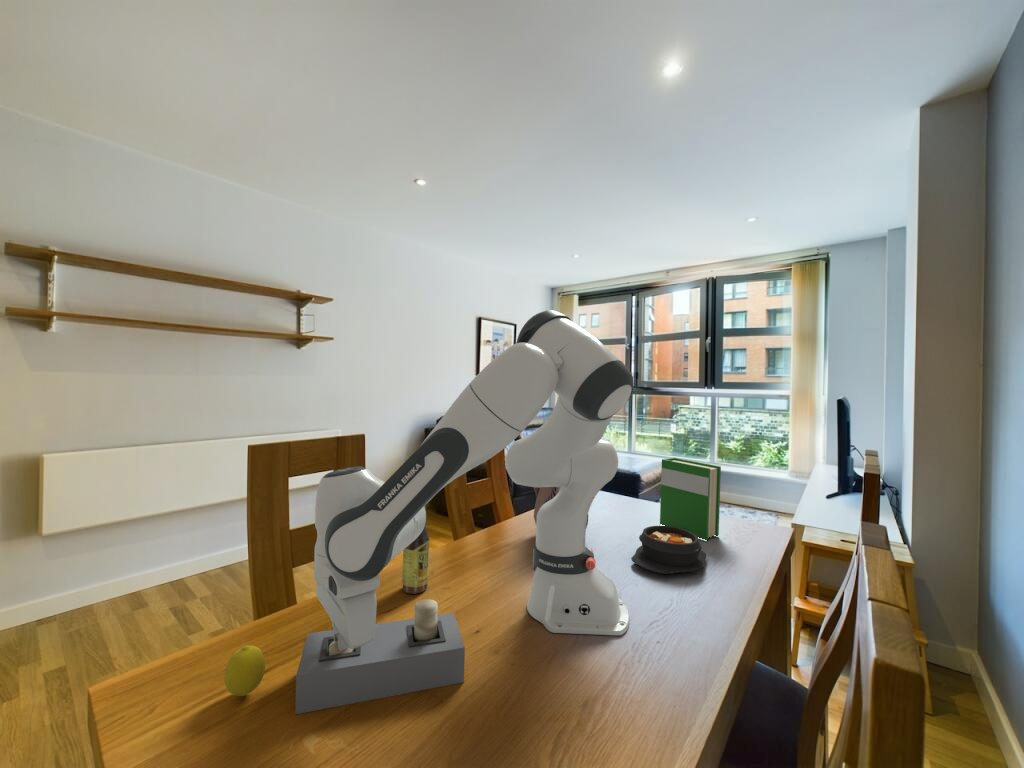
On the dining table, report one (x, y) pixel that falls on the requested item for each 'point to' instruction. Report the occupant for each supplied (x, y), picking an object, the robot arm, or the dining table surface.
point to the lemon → (244, 670)
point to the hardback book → (690, 496)
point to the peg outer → (334, 649)
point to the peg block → (379, 665)
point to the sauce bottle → (416, 564)
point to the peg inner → (425, 620)
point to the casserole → (669, 550)
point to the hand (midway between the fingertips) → (341, 645)
